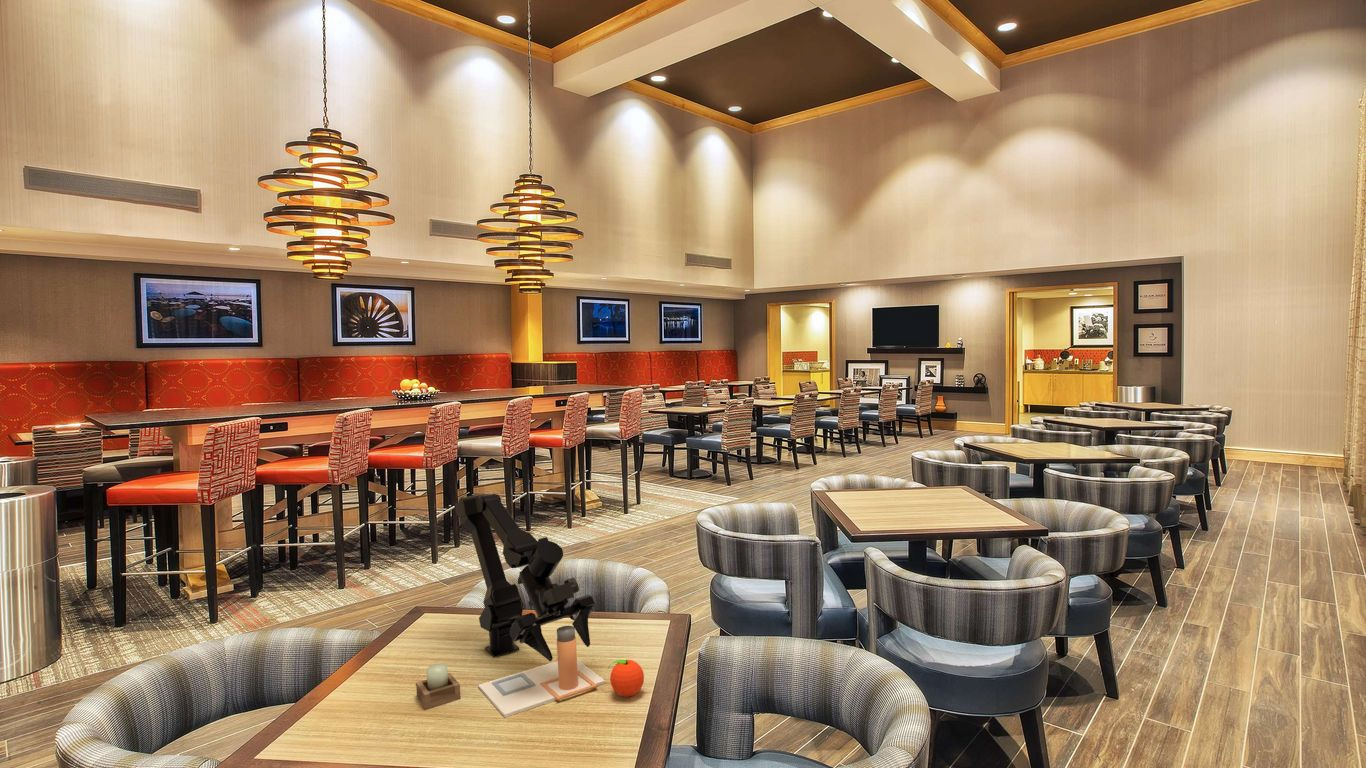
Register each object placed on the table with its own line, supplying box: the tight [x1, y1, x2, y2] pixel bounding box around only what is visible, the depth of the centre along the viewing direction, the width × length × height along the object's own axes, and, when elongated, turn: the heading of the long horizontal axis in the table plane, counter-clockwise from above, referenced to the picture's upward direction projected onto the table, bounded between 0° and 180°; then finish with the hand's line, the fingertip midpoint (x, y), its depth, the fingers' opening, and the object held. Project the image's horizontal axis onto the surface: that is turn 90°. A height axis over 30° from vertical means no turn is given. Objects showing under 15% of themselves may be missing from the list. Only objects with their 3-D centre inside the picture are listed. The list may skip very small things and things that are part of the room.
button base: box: [415, 672, 461, 710], centre depth 142 cm, size 7×7×3 cm
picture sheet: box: [477, 659, 606, 718], centre depth 144 cm, size 18×22×1 cm
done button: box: [426, 663, 448, 691], centre depth 142 cm, size 4×4×4 cm
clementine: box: [607, 659, 645, 698], centre depth 139 cm, size 8×7×7 cm
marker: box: [556, 625, 578, 690], centre depth 143 cm, size 4×4×12 cm
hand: (570, 652), depth 142 cm, fingers open, 9 cm apart
